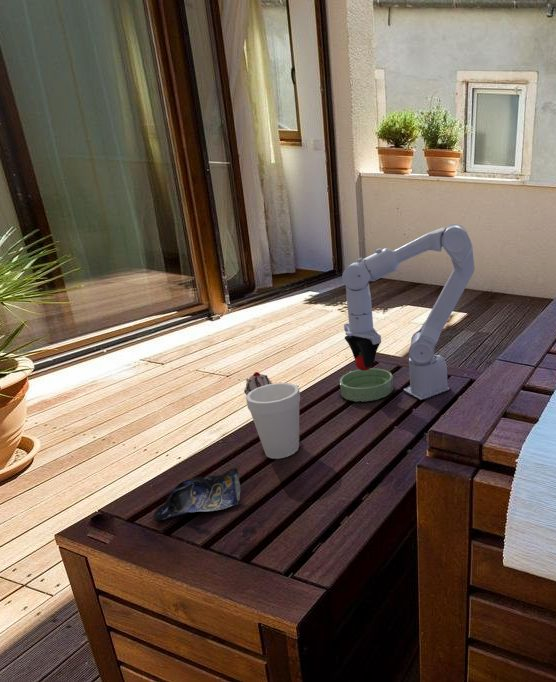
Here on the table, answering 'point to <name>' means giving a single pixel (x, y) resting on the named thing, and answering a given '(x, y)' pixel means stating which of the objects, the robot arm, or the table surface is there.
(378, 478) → the table surface
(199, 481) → the snack package
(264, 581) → the table surface
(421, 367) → the robot arm
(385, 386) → the bowl
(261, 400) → the foam cup
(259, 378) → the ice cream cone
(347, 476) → the table surface
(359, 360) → the tomato
